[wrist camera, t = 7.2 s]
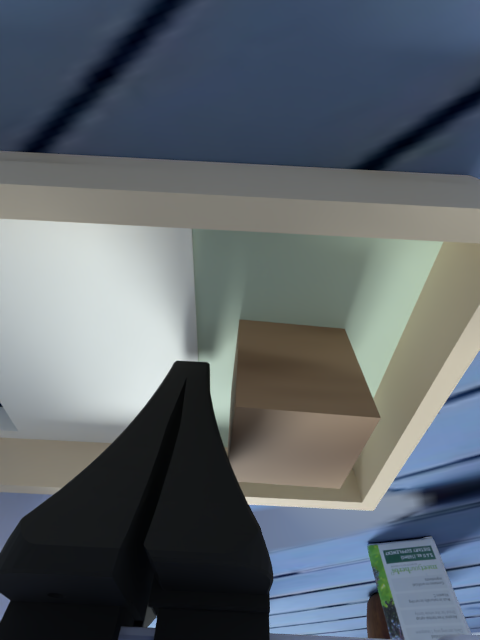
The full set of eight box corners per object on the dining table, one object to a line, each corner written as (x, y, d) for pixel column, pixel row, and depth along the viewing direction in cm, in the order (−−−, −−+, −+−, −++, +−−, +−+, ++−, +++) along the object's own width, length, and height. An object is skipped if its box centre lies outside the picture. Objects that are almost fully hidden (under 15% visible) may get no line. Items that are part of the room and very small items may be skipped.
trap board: (352, 440, 19) (373, 510, 16) (-106, 416, 19) (-178, 483, 16) (469, 175, 10) (569, 213, 7) (-385, 130, 10) (-680, 148, 7)
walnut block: (319, 398, 15) (340, 488, 11) (231, 391, 15) (225, 481, 11) (344, 328, 12) (380, 418, 9) (239, 319, 12) (235, 406, 9)
